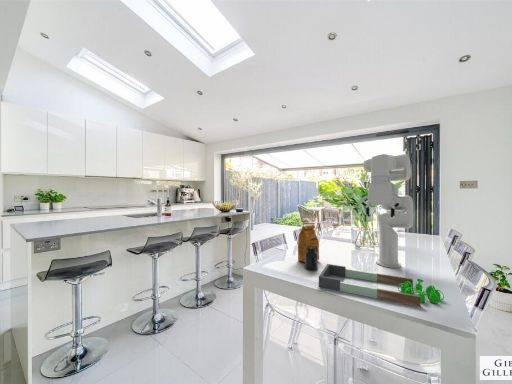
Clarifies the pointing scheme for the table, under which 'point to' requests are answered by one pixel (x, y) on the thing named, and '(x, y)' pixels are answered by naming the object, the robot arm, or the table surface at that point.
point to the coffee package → (307, 241)
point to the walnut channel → (397, 296)
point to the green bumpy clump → (429, 290)
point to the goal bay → (359, 288)
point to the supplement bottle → (311, 258)
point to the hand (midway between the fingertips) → (379, 216)
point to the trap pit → (332, 277)
